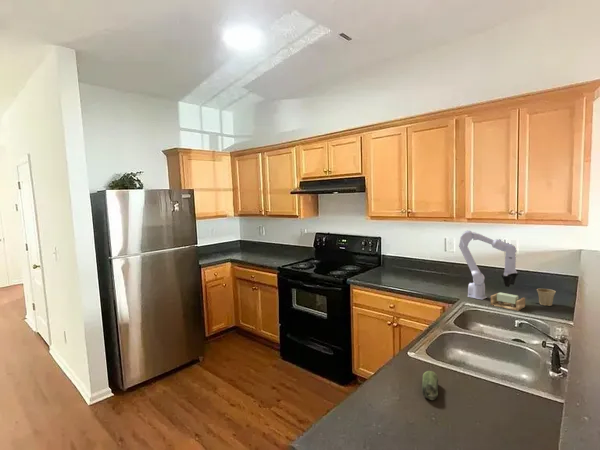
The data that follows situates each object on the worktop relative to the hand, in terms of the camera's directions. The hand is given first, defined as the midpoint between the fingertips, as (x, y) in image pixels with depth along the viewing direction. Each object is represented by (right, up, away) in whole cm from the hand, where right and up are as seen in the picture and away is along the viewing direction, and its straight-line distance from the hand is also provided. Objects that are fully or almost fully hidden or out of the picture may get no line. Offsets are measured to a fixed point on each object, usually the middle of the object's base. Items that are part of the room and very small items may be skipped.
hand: (509, 285), depth 212 cm
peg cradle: (-7, -11, -9) cm, 16 cm away
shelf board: (-7, -8, -9) cm, 14 cm away
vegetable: (-87, -20, -96) cm, 131 cm away
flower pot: (+17, -10, -7) cm, 21 cm away
